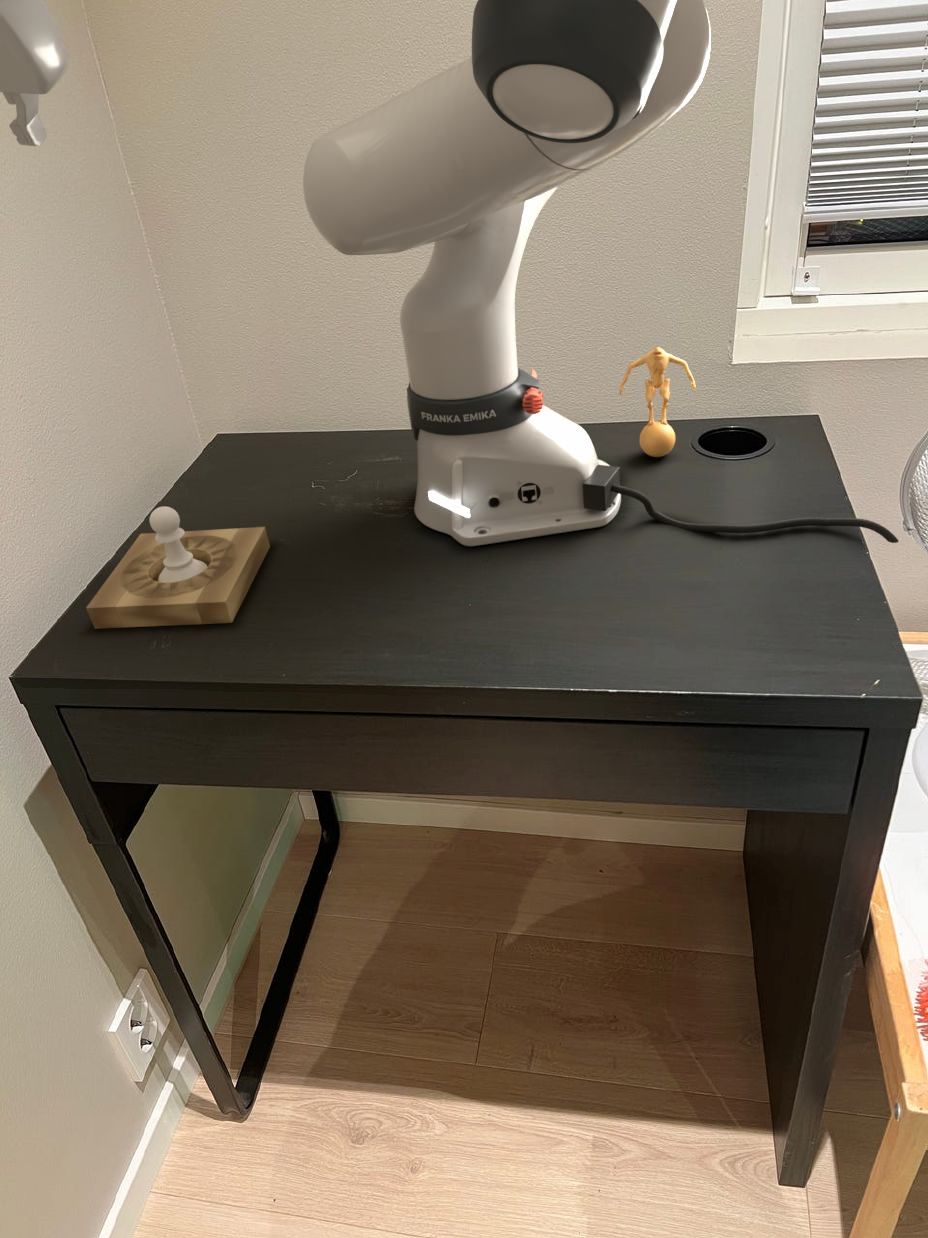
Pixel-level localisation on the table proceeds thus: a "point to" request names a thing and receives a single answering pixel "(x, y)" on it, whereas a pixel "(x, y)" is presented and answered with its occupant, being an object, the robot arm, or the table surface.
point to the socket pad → (187, 602)
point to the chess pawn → (173, 547)
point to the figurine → (659, 434)
